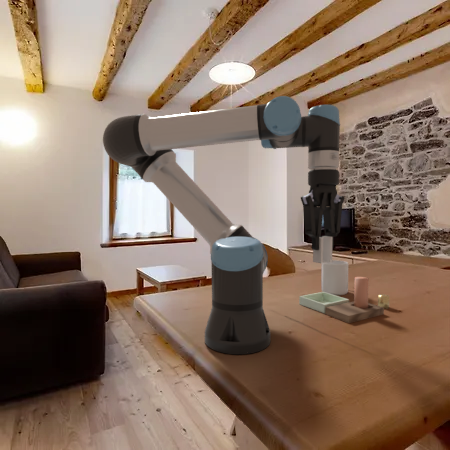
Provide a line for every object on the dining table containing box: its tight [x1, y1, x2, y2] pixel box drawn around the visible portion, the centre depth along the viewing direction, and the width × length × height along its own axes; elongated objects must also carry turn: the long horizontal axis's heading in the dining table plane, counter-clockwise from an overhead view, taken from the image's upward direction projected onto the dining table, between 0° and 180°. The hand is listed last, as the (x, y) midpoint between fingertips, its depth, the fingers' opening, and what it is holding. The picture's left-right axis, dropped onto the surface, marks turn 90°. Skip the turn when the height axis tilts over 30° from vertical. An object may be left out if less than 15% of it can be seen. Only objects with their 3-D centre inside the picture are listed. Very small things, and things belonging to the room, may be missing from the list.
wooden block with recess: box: [325, 301, 385, 324], centre depth 90 cm, size 14×8×3 cm, turn 118°
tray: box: [298, 291, 350, 315], centre depth 98 cm, size 10×10×3 cm
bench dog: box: [377, 293, 390, 310], centre depth 96 cm, size 3×3×4 cm
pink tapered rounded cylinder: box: [353, 276, 369, 309], centre depth 91 cm, size 4×4×10 cm
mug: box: [320, 259, 349, 296], centre depth 115 cm, size 12×9×11 cm
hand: (322, 261), depth 83 cm, fingers open, 3 cm apart
